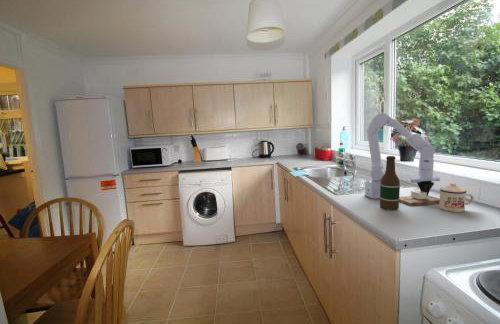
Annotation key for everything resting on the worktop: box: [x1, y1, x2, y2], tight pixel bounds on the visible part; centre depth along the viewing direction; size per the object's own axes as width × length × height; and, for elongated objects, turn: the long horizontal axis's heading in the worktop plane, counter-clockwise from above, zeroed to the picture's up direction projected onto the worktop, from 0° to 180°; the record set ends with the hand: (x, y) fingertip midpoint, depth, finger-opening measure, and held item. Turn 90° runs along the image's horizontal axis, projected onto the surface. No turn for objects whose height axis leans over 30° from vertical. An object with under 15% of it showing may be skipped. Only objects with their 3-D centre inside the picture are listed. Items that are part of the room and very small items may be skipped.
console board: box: [399, 194, 440, 207], centre depth 121 cm, size 18×10×2 cm, turn 99°
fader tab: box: [410, 189, 427, 199], centre depth 121 cm, size 4×5×3 cm
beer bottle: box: [379, 155, 401, 211], centre depth 112 cm, size 8×8×24 cm
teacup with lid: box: [438, 182, 475, 213], centre depth 107 cm, size 12×9×12 cm
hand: (424, 196), depth 122 cm, fingers closed
